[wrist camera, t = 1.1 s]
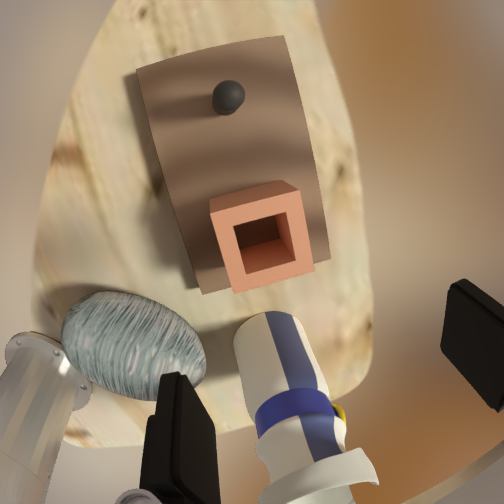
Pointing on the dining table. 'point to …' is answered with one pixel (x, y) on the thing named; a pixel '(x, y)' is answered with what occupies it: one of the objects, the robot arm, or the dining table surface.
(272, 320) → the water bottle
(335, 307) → the dining table surface
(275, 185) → the orange hollow square block
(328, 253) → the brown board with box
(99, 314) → the grey streaked oval part
